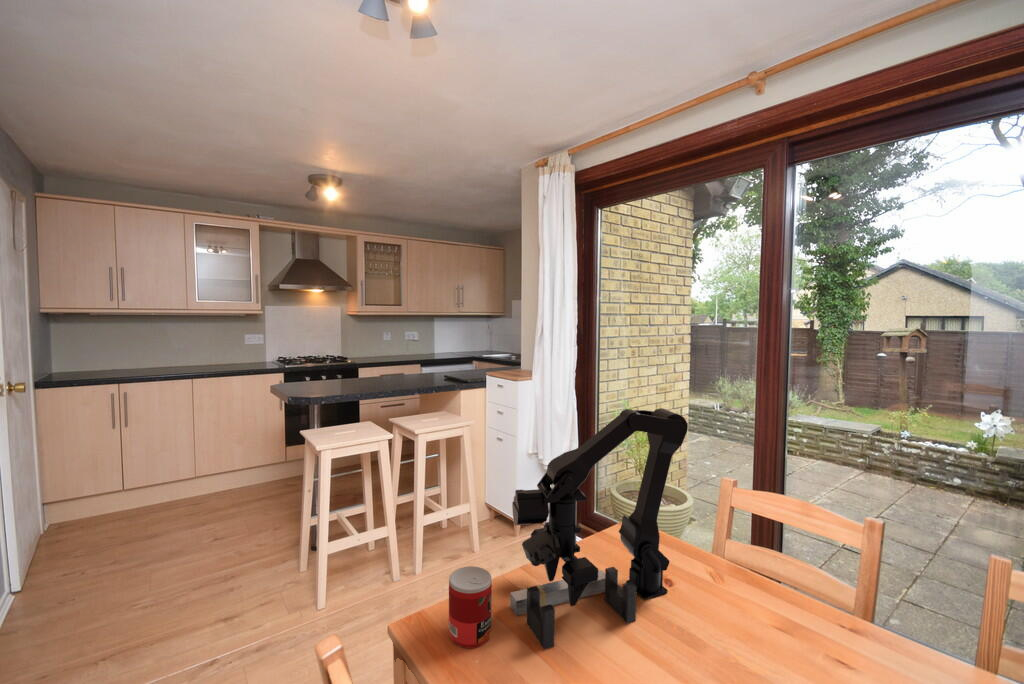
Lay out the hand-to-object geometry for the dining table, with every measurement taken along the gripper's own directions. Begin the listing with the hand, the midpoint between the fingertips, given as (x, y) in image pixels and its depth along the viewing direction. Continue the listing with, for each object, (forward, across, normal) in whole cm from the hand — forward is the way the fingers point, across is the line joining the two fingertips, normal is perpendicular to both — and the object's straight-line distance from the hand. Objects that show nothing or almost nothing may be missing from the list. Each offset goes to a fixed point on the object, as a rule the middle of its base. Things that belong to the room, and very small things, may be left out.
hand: (561, 592), depth 95 cm
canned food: (+2, +3, -21) cm, 21 cm away
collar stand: (+1, +8, 0) cm, 8 cm away
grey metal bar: (+1, 0, 0) cm, 1 cm away
